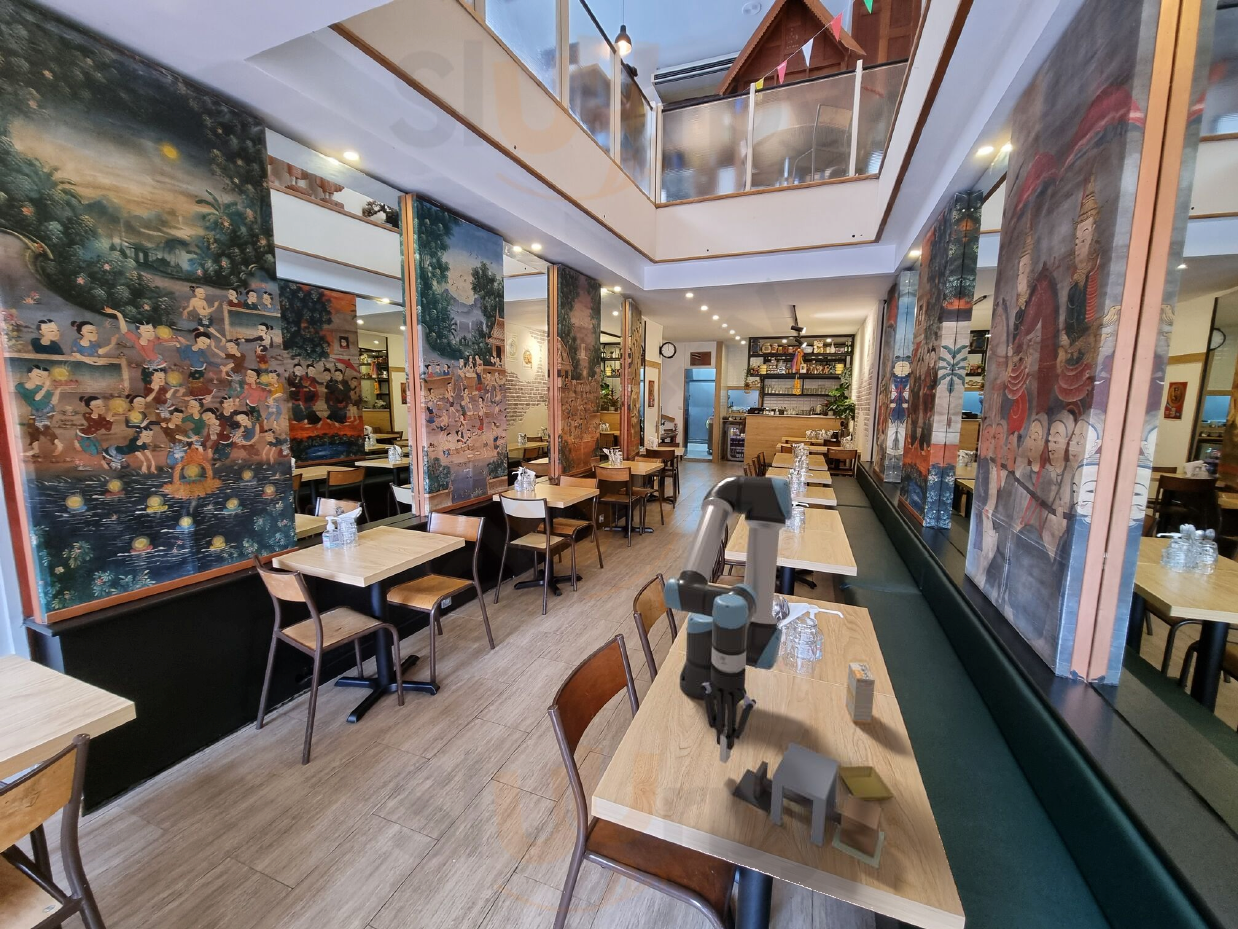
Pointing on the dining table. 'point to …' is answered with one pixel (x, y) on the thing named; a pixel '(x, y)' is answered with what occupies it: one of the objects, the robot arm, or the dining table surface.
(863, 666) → the supplement box
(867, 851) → the push rod
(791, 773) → the tunnel
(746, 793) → the mat
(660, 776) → the dining table surface
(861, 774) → the yellow tray
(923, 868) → the dining table surface
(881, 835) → the pad
